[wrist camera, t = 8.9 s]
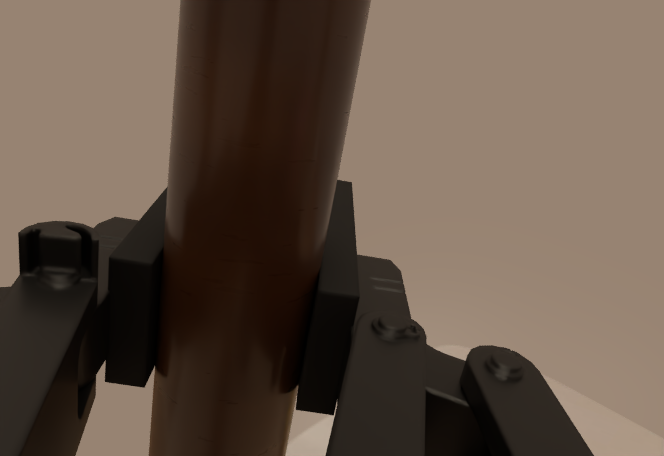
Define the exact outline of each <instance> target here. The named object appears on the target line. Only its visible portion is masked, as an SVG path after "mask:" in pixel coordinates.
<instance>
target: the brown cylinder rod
mask: <svg viewBox="0 0 664 456" xmlns="http://www.w3.org/2000/svg"><path fill="white" fill-rule="evenodd" d="M370 2H371V0H181V2H180V17H179V30H178V45H177V59H176V73H175V74H176V75H175V87H174V103H173V116H172V131H171V145H170V159H169V174H168V188H167V202H166V217H165V231H164V245H163V260H162V274H161V289H160V303H159V317H158V332H157V346H156V360H155V375H154V389H153V403H152V418H151V433H150V447H149V456H285V455H286V449H287V444H288V439H289V433H290V428H291V423H292V417H293V412H294V407H295V401H296V396H297V391H298V383H299V378H300V373H301V367H302V362H303V357H304V351H305V346H306V341H307V335H308V330H309V325H310V319H311V314H312V309H313V303H314V298H315V293H316V287H317V282H318V277H319V271H320V268H321V263H322V258H323V252H324V247H325V242H326V236H327V231H328V226H329V220H330V215H331V210H332V204H333V199H334V194H335V189H336V183H337V177H338V172H339V167H340V162H341V157H342V151H343V146H344V140H345V135H346V130H347V124H348V119H349V114H350V108H351V103H352V98H353V93H354V87H355V82H356V77H357V71H358V66H359V61H360V56H361V50H362V45H363V40H364V34H365V29H366V24H367V18H368V13H369V8H370Z"/></svg>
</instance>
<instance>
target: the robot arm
mask: <svg viewBox="0 0 664 456" xmlns="http://www.w3.org/2000/svg"><path fill="white" fill-rule="evenodd" d="M167 188H168V187H167ZM167 188H166V189H165V190H164V191H163V193H162V194H161V195H160V196H159V198H158V199H157V200H156V201H155V202H154V203H153V205H152V206H151V207H150V208H149V210H148V211H147V212H146V213H145V214H144V215H143V217H142V218H141V219H140V220H139V221H138V220H131V219H125V218H119V217H114V218H111V219H109V220H107V221H104V222H101V223H99V224H97V225H96V226H95V227H94V228H91V227H89V226H86V225H84V224H80V223H74V222H68V221H65V222H64V221H52V222H44V223H37V224H34V225H31V226H28V227H26V228H24V229H23V230H21V231H20V232H19V233H18V236H19V263H20V275H19V277H18V278H17V279H16V281H15V282H14V284H13V285H12V286H11V287H0V456H75V455H76V452H77V449H78V446H79V443H80V440H81V437H82V434H83V431H84V428H85V425H86V423H87V420H88V417H89V414H90V411H91V408H92V405H93V402H94V399H95V395H96V374H97V372H98V371H99V369H100V368H101V366H102V364H103V363H104V361H105V360H106V369H105V370H106V371H105V382H109V383H117V384H123V385H130V386H137V387H145V385H146V383H147V381H148V379H149V376H150V375H151V372H152V370H153V368H154V366H155V360H156V346H157V332H158V317H159V303H160V289H161V274H162V260H163V245H164V231H165V217H166V202H167ZM355 237H356V235H355V222H354V207H353V193H352V182H346V181H341V180H337V183H336V189H335V194H334V199H333V204H332V210H331V215H330V220H329V226H328V231H327V236H326V242H325V247H324V252H323V258H322V263H321V268H320V271H319V277H318V282H317V287H316V293H315V298H314V303H313V309H312V314H311V319H310V325H309V330H308V335H307V341H306V346H305V351H304V357H303V362H302V367H301V373H300V378H299V383H298V393H297V403H296V410H301V411H308V412H315V413H322V414H329V415H334V411H335V407H336V402H337V409H336V413H335V418H334V422H333V426H332V431H331V435H330V439H329V444H328V448H327V452H326V456H594V455H593V454H592V452H591V450H590V449H589V447H588V446H587V444H586V443H585V441H584V440H583V438H582V436H581V435H580V433H579V432H578V430H577V429H576V427H575V426H574V424H573V423H572V421H571V419H570V418H569V416H568V415H567V413H566V412H565V410H564V409H563V407H562V406H561V404H560V402H559V401H558V399H557V398H556V396H555V395H554V393H553V392H552V390H551V388H550V387H549V385H548V384H547V382H546V381H545V379H544V378H543V376H542V375H541V373H540V371H539V370H538V369H537V368H536V367H535V366H534V365H533V364H532V363H531V362H530V361H529V360H527V359H526V358H524V357H523V356H521V355H520V354H519V353H517V352H515V351H511V350H510V349H507V348H504V347H497V346H479V347H476V348H473V349H471V351H470V352H469V354H468V355H467V359H466V361H464V360H461V359H458V358H455V357H452V356H450V355H447V354H444V353H442V352H440V351H437V350H436V349H434V348H432V347H430V346H429V345H427V344H426V335H425V331H424V329H423V328H422V327H421V326H420V325H419V324H418V323H417V322H416V321H414V320H412V319H411V316H410V311H409V306H408V302H407V298H406V294H405V288H404V284H403V279H402V275H401V271H400V270H399V269H398V268H397V267H396V266H395V265H394V264H393V262H392V261H391V260H387V259H381V258H375V257H368V256H362V255H357V251H356V238H355Z"/></svg>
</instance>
